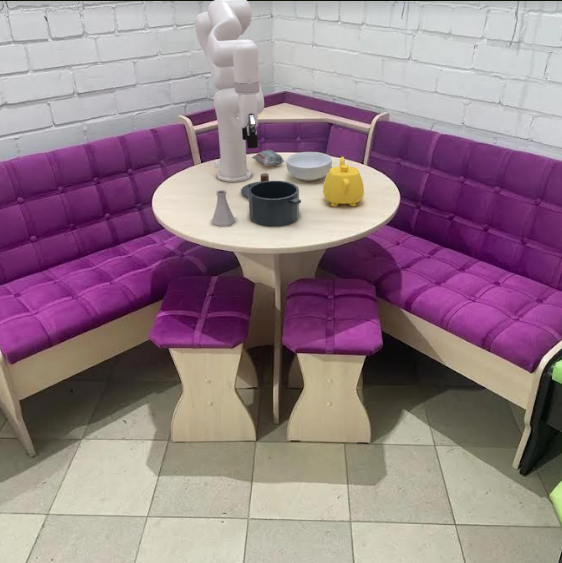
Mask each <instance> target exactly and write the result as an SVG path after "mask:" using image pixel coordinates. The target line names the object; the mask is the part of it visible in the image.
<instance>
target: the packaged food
mask: <svg viewBox="0 0 562 563" xmlns="http://www.w3.org/2000/svg"><path fill="white" fill-rule="evenodd" d="M251 159H254V160H255V161H256V162H257V163H259V164H261V165H263V166H265V167H275V166H280V165H282V164H283V163H285V160H284V158H283V157H282V155H280V154H279V153H277V152H275V151H274V150H272V149H266V150H262V151H260V152H258V153H255V154H254V155H253V156H251Z"/></svg>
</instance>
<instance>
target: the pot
mask: <svg viewBox="0 0 562 563" xmlns="http://www.w3.org/2000/svg"><path fill="white" fill-rule="evenodd" d="M259 182H260V183H254V182H251V184H250V183H248V184H247V185H248V187H249V189H248V194H249V199H248V211H249V212H248V213H249V220H250V221H251V222H252V223H253V224H256V225H258V226H262V227H269V228H278V227H285V226H289V225H291V224H293V223H295V222H296V221H297V220H298V219H299V217H300V204H301V203H302V199H300V189H299V187H298V185H296V184H294V183H293V182H290V181H285V180H269V181H264V182H261V181H259Z"/></svg>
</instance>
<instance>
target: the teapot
mask: <svg viewBox="0 0 562 563" xmlns="http://www.w3.org/2000/svg"><path fill="white" fill-rule="evenodd" d="M322 193H323V196H324V197H325V200H326V201H327V202H329V203H330V206H331V207H339V204H343V205H344V204H345V205H346V204H348V205H349V207H357V203H358V202H359V203H360V201H361V200H362V199H363V197H364V194H365V187H364V181H363V178H362V176H361V173H360V171H359V169H358V168H357V167H355V166H349V165H348V164H346V161H345V157H344V156H340V157H339V166H333V167H332V166H331V169H330V170H329V172H328V174H327V175H325V179H324V181H323V187H322Z"/></svg>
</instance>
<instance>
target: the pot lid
mask: <svg viewBox="0 0 562 563" xmlns="http://www.w3.org/2000/svg"><path fill="white" fill-rule="evenodd" d="M264 181H270V176H269V173H266V172H265V173H264V172H263V173H261V174H260V181H255V182H254V183H260V182H264ZM251 183H252V182H251ZM251 183H249V184H251ZM248 189H249V187H248V184H245V185H244V186H243V187H242V188H241V189H240V194H241V196H243V197H244V198H246V199H248V200H249V194H248Z"/></svg>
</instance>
